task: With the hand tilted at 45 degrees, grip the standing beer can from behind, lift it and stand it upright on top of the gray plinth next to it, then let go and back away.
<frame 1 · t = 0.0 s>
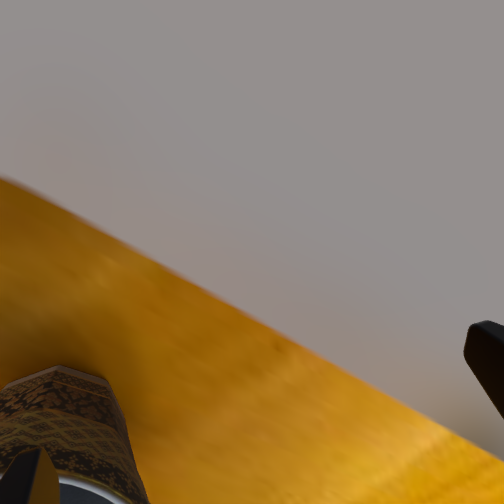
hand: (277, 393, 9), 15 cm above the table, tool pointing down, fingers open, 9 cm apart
ceramic cup: (86, 424, 25), on the table
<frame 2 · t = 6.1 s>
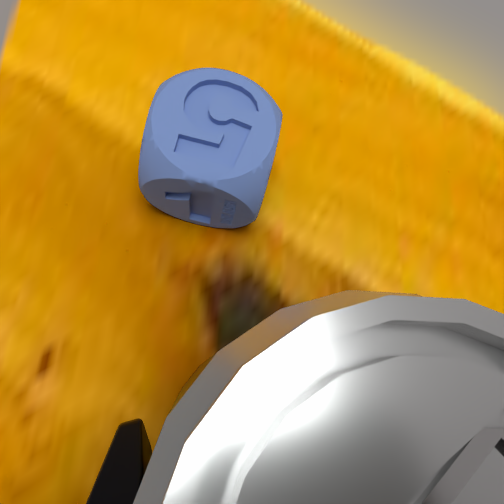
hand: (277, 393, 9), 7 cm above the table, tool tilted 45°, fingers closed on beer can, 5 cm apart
decorative dice: (209, 180, 18), on the table
beer can: (250, 425, 15), on the table, touching gripper
when the fingers open (11 cm above the table, at t = 9.3 s): beer can drops 1 cm, resting on gray plinth.
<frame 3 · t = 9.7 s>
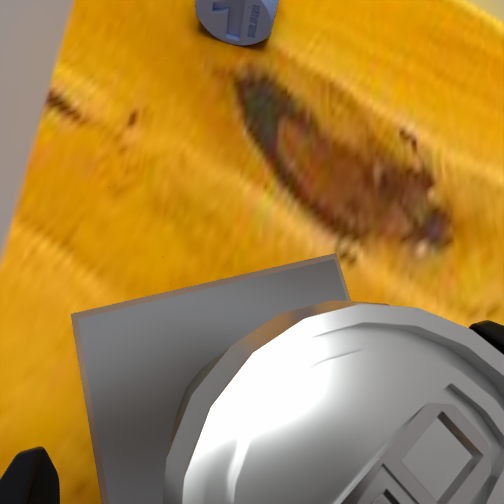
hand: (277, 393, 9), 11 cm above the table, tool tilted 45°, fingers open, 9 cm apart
decorative dice: (237, 19, 25), on the table
beer can: (248, 424, 17), point 3 cm above the table, touching gray plinth
gray plinth: (237, 414, 19), on the table
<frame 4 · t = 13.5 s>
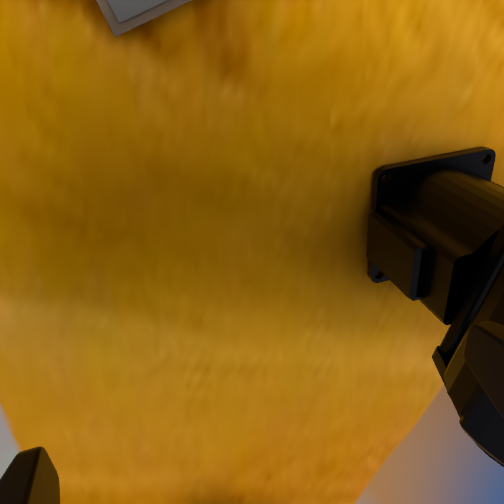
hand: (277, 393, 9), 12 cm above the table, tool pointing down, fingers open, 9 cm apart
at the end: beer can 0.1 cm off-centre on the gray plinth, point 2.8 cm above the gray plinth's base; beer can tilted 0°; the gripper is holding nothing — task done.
